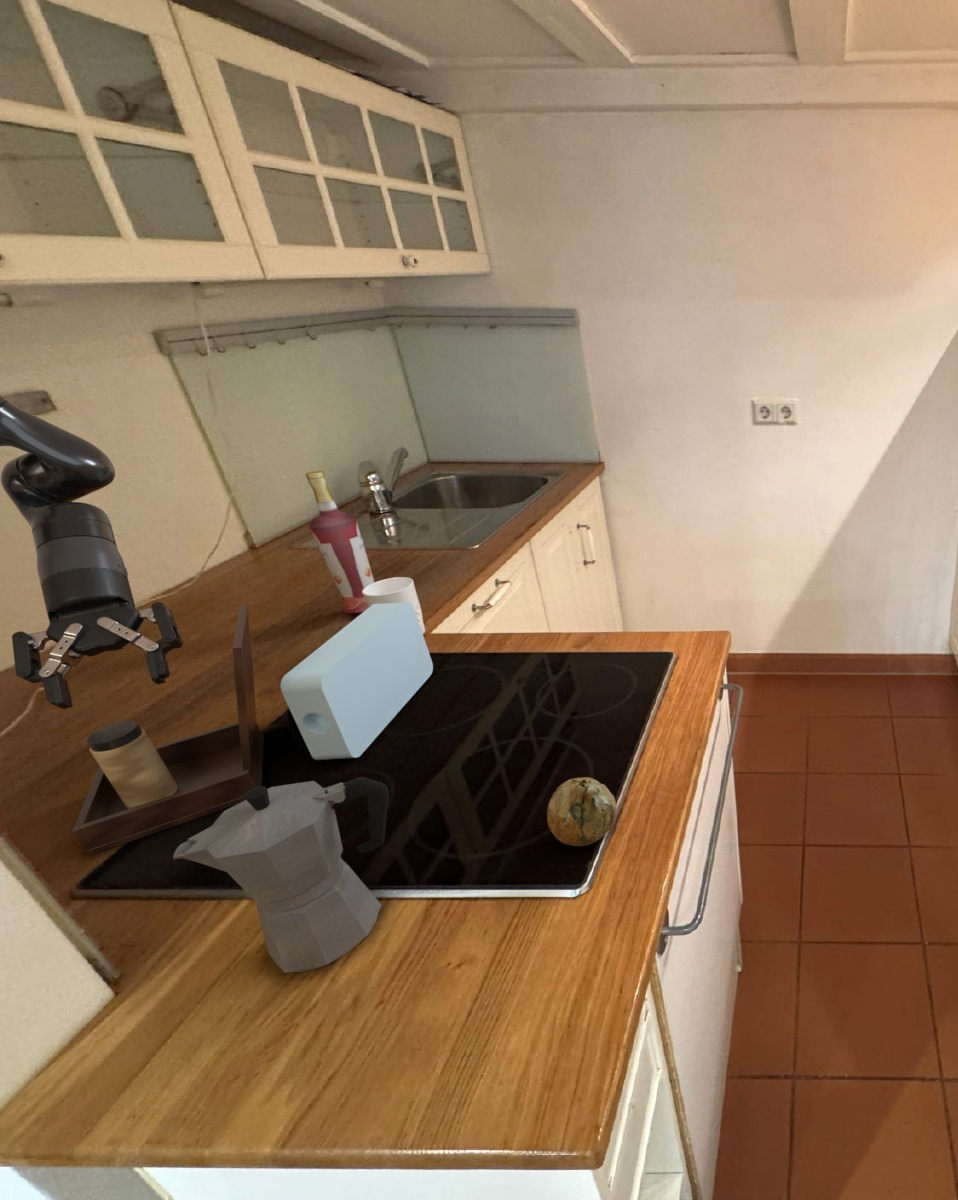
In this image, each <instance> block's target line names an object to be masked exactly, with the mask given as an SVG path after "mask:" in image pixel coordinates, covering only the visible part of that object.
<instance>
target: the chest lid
mask: <svg viewBox="0 0 958 1200" xmlns="http://www.w3.org/2000/svg"><path fill="white" fill-rule="evenodd" d="M235 624H236V625H235V630H234V635H233V642H232V646H231V648H232V661H233V673H234V674H233V675H234V684H235V695H236V696H235V697H236V706H237V707H236V708H237V718H238V722H239V731H240V742H241V754H242V765H243V770H248V769H251V768H252V757H253V745H254V734H255V722H256V723H257V720H256V719H257V708H256V705H257V704H256V696H255V695H256V693H255V682H254V669H253V655H252V643H251V629H250V617H249V605H248V604H239V607H238V612H237V619H236V623H235Z"/></svg>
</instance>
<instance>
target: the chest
mask: <svg viewBox="0 0 958 1200" xmlns="http://www.w3.org/2000/svg"><path fill="white" fill-rule="evenodd" d="M154 747H155V748H156V750H157V752H158V753H159V755H160V757H161V759H162V760H163V762H164V764H165V765H166V767H167V769H168V770H169V772H170V774H171V775H172V777H173V779H174V780H175V782H176V784H177V785H178V789H177V791H176V792H175V793H174V794H173V795H170V796H167V797H164V798H161V799H158V800H155V801H152V802H149V803H146V804H143V805H140V806H137V807H134V808H131V809H128V808H127V807H126V806H125V804H124V803H123V801H122V800H121V798H120V797H119V795H118V793H117V792H116V790H115V789H114V787H113V786H112V784H111V783H110V781H109V780H108V778H107V777H106V775H105V774H104V772H103V771H102V769H101V767H100V766H99V765H98V768H97V770H96V773H95V776H94V777H93V779H92V782H91V785H90V788H89V790H88V792H87V795H86V797H85V800H84V802H83V805H82V806H81V809H80V812H79V814H78V817H77V819H76V822H75V824H74V826H73V828H72V831H71V832H72V833H73V835H74V837H75V838H76V839H77V840H78V842H79V843H80V844H81V846H82V847H83V849H84V850H85V851H86V853H87V854H88V855H89V856H94V855H96V854H98V853H102V852H105V851H108V850H111V849H113V848H116V847H118V846H119V847H120V846H122V845H125V844H128V843H130V842H134V841H137V840H139V839H142V838H144V837H147V836H151V835H153V834H156V833H160V832H162V831H165V830H168V829H170V828H173V827H176V826H180V825H182V824H185V823H187V822H191V821H193V820H197V819H199V818H202V817H205V816H207V815H210V814H214V813H216V812H220V811H222V810H226V809H229V808H231V807H233V806H235V805H237V804H239V803H241V802H243V801H245V800H246V799H245V798H244V797H243V796H244V795H245V794H246V793H247V792H248V791H250V790H252V789H254V788H256V787H262V786H263V785H262V784H263V769H264V754H265V753H264V752H265V751H264V750H265V737H264V735H263V733H262V730H261V729H260V727H259V724H258V723H257V721H256V722H255V734H254V745H253V757H252V768H251V769H248V770H243V765H242V754H241V742H240V731H239V721H236V722H234V723H231V724H227V725H224V726H221V727H217V728H213V729H209V730H206V731H202V732H200V733H196V734H193V735H190V736H186V737H183V738H180V739H176V740H173V741H170V742H165V743H163V744H160V745H157V746H154Z"/></svg>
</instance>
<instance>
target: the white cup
mask: <svg viewBox="0 0 958 1200" xmlns="http://www.w3.org/2000/svg"><path fill="white" fill-rule="evenodd" d="M362 593H363V596H364V598H365V600H366V603H367V605H368V607H370V606H372V605H373V604H383V603H402V602H409V603H411V604H412V605H413V607H414V610H415V613H416V616H417V619H418V622H419V625H420V628H421V631H422V634H423V635H424V633H425V632H426V625H425V623H424V618H423V617H424V616H423V613H422V607H421V603H420V600H419V596H418V593H417V591H416V585H415V583H414V579H413V578H410V577H408V576H407V577H406V576H396V577H389V578H385V579H381V580H377V581H375V583H372V584H370V585H368V586H366V587H365V588H364V589H363V590H362Z"/></svg>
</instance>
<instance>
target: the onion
mask: <svg viewBox="0 0 958 1200" xmlns="http://www.w3.org/2000/svg"><path fill="white" fill-rule="evenodd" d="M617 809H618V807H617V800H616V798H615V796H614V794H613V793H612V792H611V791H610V789H609V788H608V787H607V786H606V784H604V783H601V782H600V781H598V780H597V779H594V778H592V777H588V776H584V777H583V776H582V777H574V778H570V779H568V780H566V781H564V782H563V783H561V784H560V785H559V786H558V787H557V788H556V789H555V791H554V792H553V794H552V795H551V797H550V799H549V801H548V803H547V809H546V815H547V817H546V818H547V819H546V821H547V826H548V828H549V830H550V832H551V833H552V835H553V836H554V837H555V839H557V840H558V841H559V842H560V843H562V844H564V845H567V846H573V847H585V846H590V845H592V844H594V843H596V842H597V841H599V840H601V839H602V838H603V837H604V836H605V835H606V834H607V833H608V832H609V831H610V830H611V829H612V827H613V825H614V823H615V820H616V816H617Z"/></svg>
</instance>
